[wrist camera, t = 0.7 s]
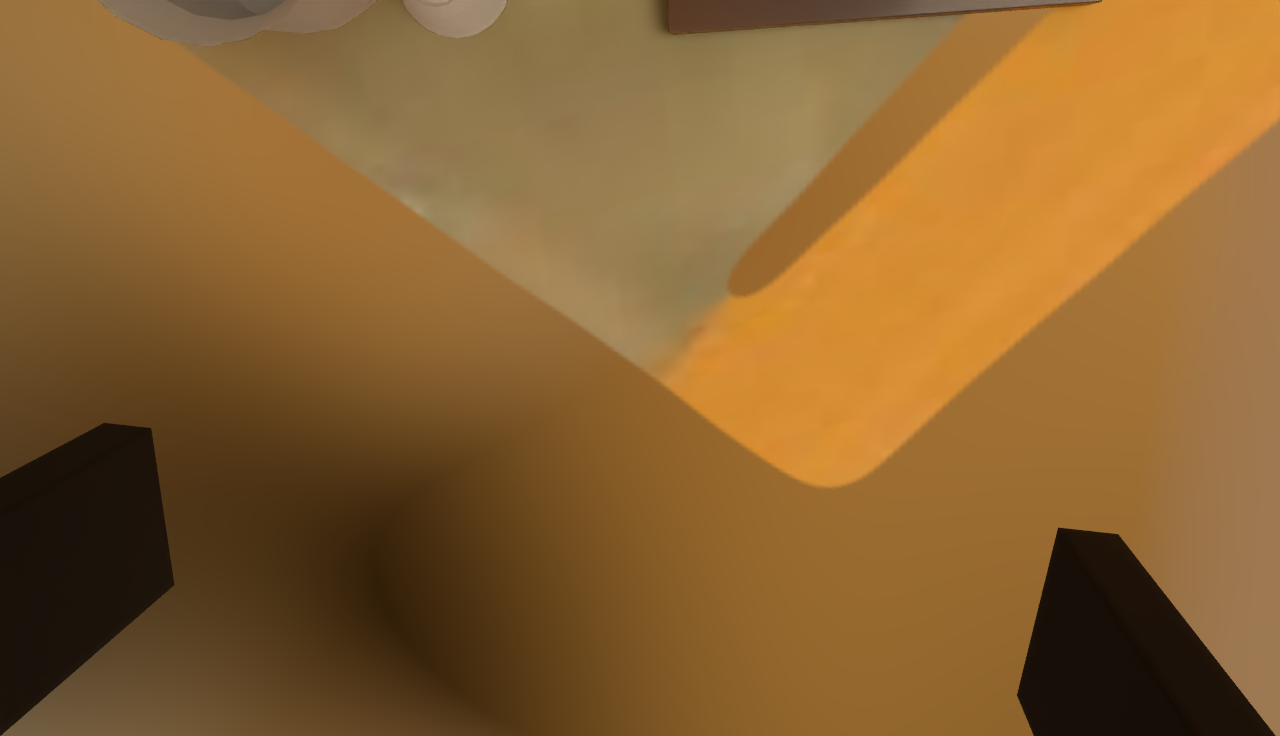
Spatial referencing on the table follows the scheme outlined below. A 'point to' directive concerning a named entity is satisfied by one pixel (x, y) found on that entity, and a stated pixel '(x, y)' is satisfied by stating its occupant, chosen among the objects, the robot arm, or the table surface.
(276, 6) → the chalice
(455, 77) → the table surface
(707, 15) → the walnut board
